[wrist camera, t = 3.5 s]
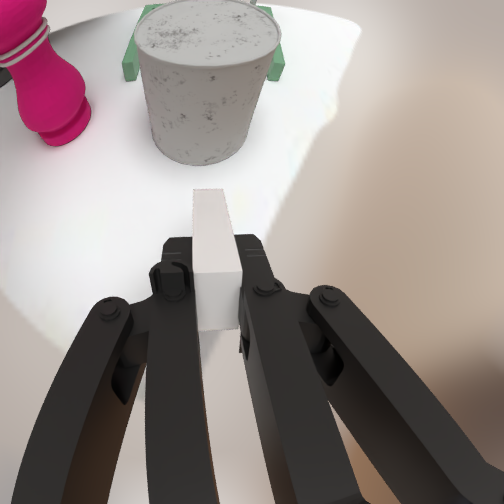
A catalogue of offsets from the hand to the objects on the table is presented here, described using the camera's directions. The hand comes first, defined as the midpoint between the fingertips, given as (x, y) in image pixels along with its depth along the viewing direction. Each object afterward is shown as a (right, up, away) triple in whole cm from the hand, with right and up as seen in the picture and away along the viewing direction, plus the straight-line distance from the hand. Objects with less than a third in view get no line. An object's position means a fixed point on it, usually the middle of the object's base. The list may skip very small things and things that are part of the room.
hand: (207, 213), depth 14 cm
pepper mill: (-18, +12, +8) cm, 23 cm away
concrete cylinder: (-3, +10, +11) cm, 15 cm away
